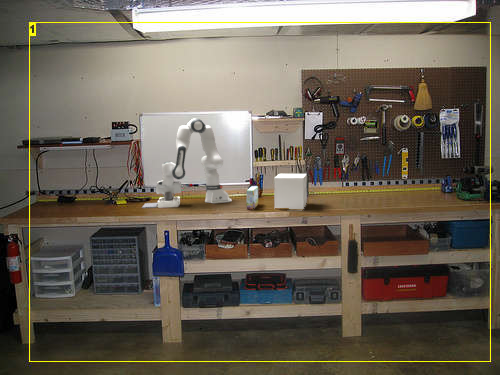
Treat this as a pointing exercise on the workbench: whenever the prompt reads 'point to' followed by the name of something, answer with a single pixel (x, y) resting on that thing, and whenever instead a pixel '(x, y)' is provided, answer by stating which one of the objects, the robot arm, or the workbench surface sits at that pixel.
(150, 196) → the workbench surface
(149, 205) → the rubber mat
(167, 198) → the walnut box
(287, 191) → the cube
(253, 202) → the snack box
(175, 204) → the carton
